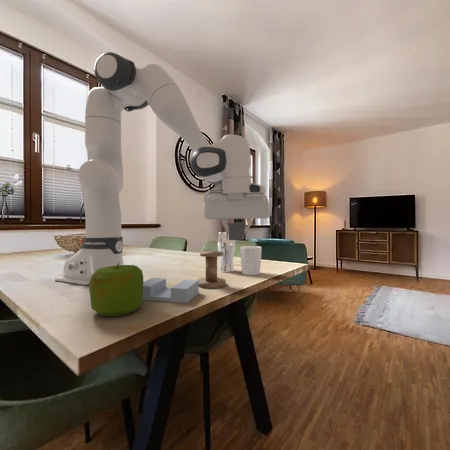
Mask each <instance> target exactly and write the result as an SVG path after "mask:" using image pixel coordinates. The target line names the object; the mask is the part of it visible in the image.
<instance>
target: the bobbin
mask: <svg viewBox="0 0 450 450" xmlns="http://www.w3.org/2000/svg"><path fill="white" fill-rule="evenodd" d="M222 255H223V252H219V251H218V250H217V251H216V250H215V251H214V250H209V251H206V250H205V251H200V253H199V256H200V257H205V277H202V278H199V279H197V280H198V288H201V289H208V290H209V289H210V290H211V289H219V288H224V287H226V284H227V282H226V279H225V278H221V277H218V258H219V256H222Z"/></svg>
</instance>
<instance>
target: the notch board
mask: <svg viewBox="0 0 450 450" xmlns="http://www.w3.org/2000/svg"><path fill="white" fill-rule="evenodd" d="M198 280H199V279H183V280H181V281H179V282H178V283H176V284H174V285H173V286H171V287H169V286H168V287H167V278H164V277H163V278H162V277H151V278H149V279H147V280H146V279H145V280H143V297H142V301H153V302H155V301H156V302H166V303H167V302H168V303H176V304H177V303H179V304H188V303H189V302H190V301H192V299H194V298H195V297H196V296H197V295H198V294H199V292H200V290H199V289H200V287H198Z"/></svg>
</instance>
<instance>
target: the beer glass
mask: <svg viewBox="0 0 450 450" xmlns="http://www.w3.org/2000/svg"><path fill="white" fill-rule="evenodd" d="M217 251H219V252H223V255H222V256H218V258H219V259H218V260H219V265H218V272H220V273H233V272H234V271H235V268H234V267H235V266H234V256H235V251H236V240H229V234H226V231H224V232H223V231H222V232H218V233H217Z"/></svg>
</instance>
